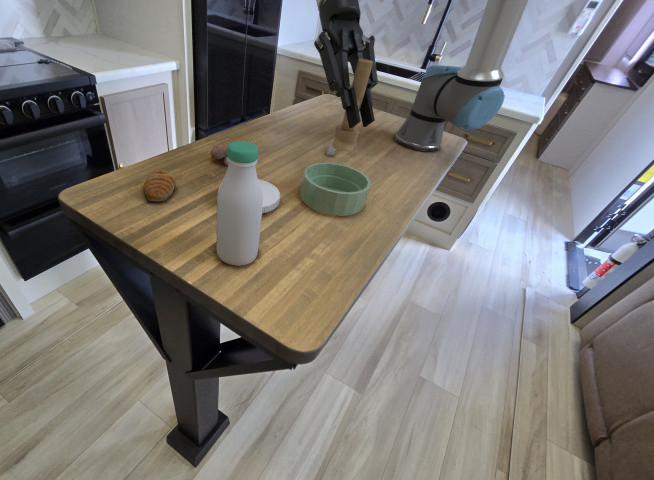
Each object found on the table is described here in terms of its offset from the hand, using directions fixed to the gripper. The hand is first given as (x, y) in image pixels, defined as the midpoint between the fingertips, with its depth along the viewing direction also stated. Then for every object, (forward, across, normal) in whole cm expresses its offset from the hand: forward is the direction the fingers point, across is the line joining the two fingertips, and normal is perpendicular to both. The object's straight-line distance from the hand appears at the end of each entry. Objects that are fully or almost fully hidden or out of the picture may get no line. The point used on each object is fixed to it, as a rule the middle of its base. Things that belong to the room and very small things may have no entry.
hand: (361, 124), depth 66 cm
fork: (-10, -23, -37) cm, 44 cm away
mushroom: (-8, +18, -34) cm, 39 cm away
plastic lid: (+8, +20, -19) cm, 29 cm away
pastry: (+2, +38, -25) cm, 46 cm away
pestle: (+2, 0, -7) cm, 7 cm away
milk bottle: (+20, +30, -6) cm, 36 cm away
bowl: (+11, 0, -15) cm, 19 cm away
